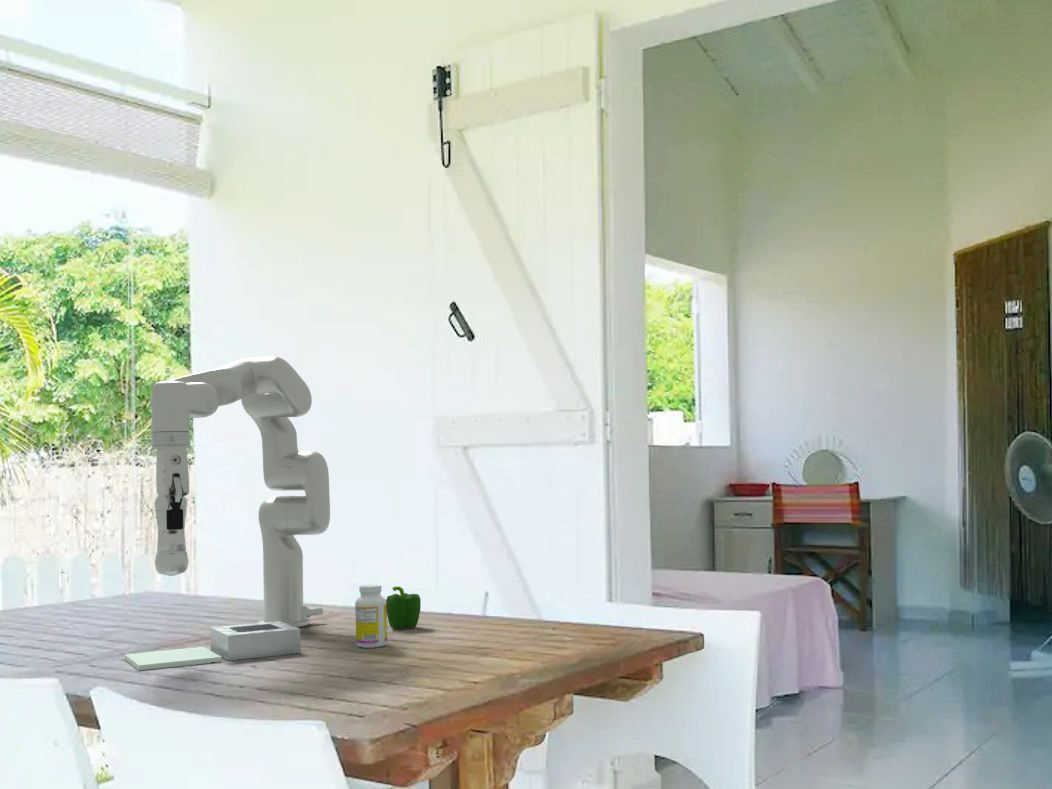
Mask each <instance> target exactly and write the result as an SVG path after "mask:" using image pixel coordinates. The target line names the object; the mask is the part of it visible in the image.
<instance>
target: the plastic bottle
mask: <svg viewBox="0 0 1052 789" xmlns="http://www.w3.org/2000/svg"><path fill="white" fill-rule="evenodd" d="M172 484H173V483H172ZM169 490H170V489H169ZM170 494H174V493H170ZM171 502H172V499H171ZM182 502H183V529H181V530H167V517H166V510H168V502H167V496H164V495H162V493H161V492H160V493H159V495H158V494H157V497H156V498H155V500H154V512H155V518H156V525H157V526H156V527H157V545H156V554H155V558H154V559H155V560H154V566H155V570H156V572H157V574H158V575H164V576H168V577H172V576H175V577H176V576H178V575H180V574H183V573H186V571H187V570H188V566H189V565H188V564H189V558H188V557H189V556H188V552H187V547H186V538H185V537H186V536H185V534H186V533H185V532H186V531H185V529H186V517H187V508H188V501H187V498H186V496H183V493H182Z"/></svg>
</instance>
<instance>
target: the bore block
mask: <svg viewBox="0 0 1052 789" xmlns="http://www.w3.org/2000/svg"><path fill="white" fill-rule="evenodd" d="M301 644H302V642H301V628H300V627H294V626H291V625H289V624H286V623H283V622H281V621H275V622H264V623H258V622H254V623H245V624H235V625H233V624H232V625H222V626H220V625H219V626H211V627H210V651H212V652H214V653H216V654H217V655H219V656H221V657H222V659H225V660H226V661H229V660H230V661H238V660H239V659H240V660H248V659H255V658H256V659H257V658H267V657H274V656H275V657H276V656H285V655H296V653H297V654H301V652H302V651H301V650H302V649H301V646H302V645H301Z"/></svg>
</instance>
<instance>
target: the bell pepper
mask: <svg viewBox="0 0 1052 789" xmlns="http://www.w3.org/2000/svg"><path fill="white" fill-rule="evenodd" d="M392 591H393V592H396V591H399V594H398V593H392V594H391V595H388V596H387V597H386V598H385V599H386V610H387V620H388V623H389V626H390V628H391V629H395V630H404V629H407V628H410V629H414V628H416V626H418V622H419V618H420V614H421V609H422V608H421V605H422V604H421V596H420V595H419V593H418V594H417V593H410V594H409V593H407V592H405V591H404V589H403V588H402V587H401V586H396V585H395V586H393V587H392Z"/></svg>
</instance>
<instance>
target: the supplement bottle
mask: <svg viewBox="0 0 1052 789" xmlns="http://www.w3.org/2000/svg"><path fill="white" fill-rule="evenodd" d="M358 591H359V594H360V597H358V598H357V599H356V600H355V603H354V606H355V607H354V609H355V641H356V642H355V643H356V646H357V648H361V647H362V649H363V648H364V649H375V647H376V648H380V647H381V648H382V647H385V646H386V645H388V621H387V620H388V616H387V610H386V599H387V598H385V597H384V596H382V595H381V592H382V585H381V584H363V585H360V586H359V590H358Z"/></svg>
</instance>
